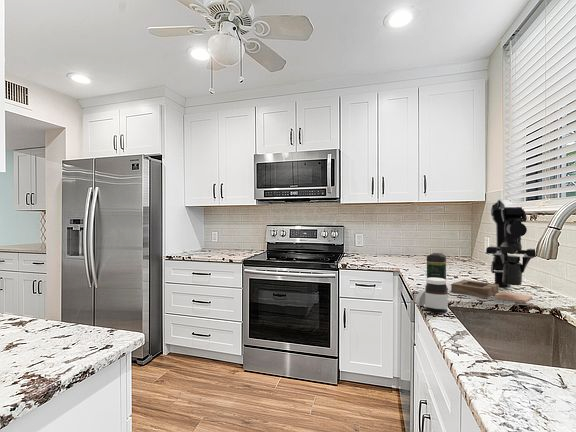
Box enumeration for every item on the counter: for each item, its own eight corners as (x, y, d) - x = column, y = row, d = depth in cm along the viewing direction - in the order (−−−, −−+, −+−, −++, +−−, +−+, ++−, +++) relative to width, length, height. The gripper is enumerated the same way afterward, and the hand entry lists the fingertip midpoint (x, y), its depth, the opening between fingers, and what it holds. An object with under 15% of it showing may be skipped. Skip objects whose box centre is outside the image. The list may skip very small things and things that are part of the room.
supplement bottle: (515, 282, 140) (517, 255, 140) (525, 286, 133) (527, 257, 133) (498, 281, 141) (500, 254, 140) (507, 285, 134) (510, 257, 133)
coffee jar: (444, 297, 138) (444, 254, 138) (425, 295, 143) (424, 253, 143) (447, 292, 146) (447, 252, 146) (429, 290, 151) (428, 251, 151)
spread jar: (447, 315, 114) (446, 282, 114) (413, 310, 119) (413, 279, 119) (448, 306, 124) (448, 276, 124) (417, 303, 130) (417, 274, 130)
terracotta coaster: (502, 293, 144) (502, 291, 144) (532, 298, 136) (532, 296, 136) (494, 297, 137) (494, 295, 137) (525, 302, 129) (525, 300, 129)
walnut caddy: (464, 286, 159) (463, 279, 159) (498, 291, 147) (498, 284, 147) (451, 291, 149) (451, 284, 149) (487, 297, 137) (487, 289, 137)
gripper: (481, 235, 138) (481, 271, 139) (534, 237, 124) (535, 277, 124) (490, 234, 146) (490, 268, 146) (541, 235, 132) (541, 273, 132)
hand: (512, 271), depth 137 cm, fingers closed on supplement bottle, 7 cm apart
